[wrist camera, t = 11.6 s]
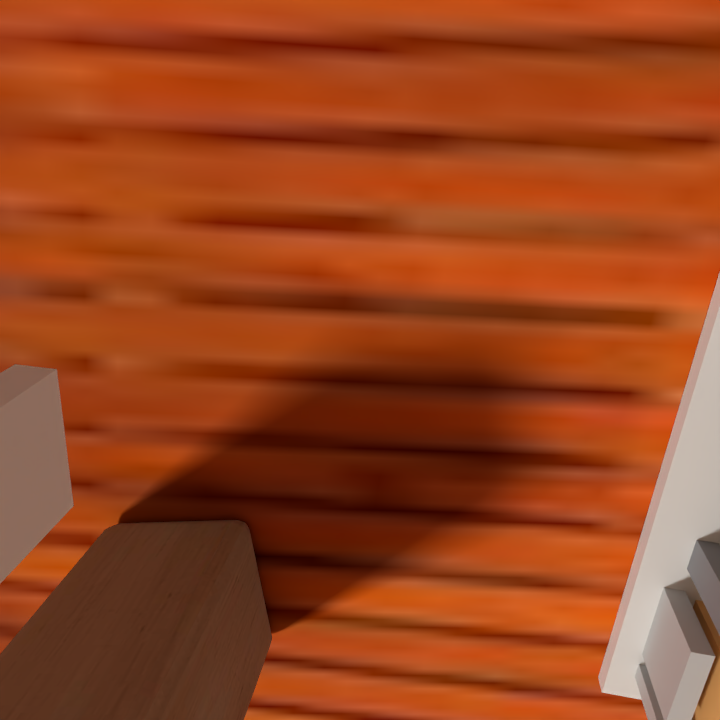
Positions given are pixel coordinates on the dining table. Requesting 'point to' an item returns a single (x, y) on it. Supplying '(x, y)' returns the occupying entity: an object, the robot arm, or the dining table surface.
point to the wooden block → (145, 630)
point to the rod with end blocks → (716, 704)
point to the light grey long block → (676, 556)
